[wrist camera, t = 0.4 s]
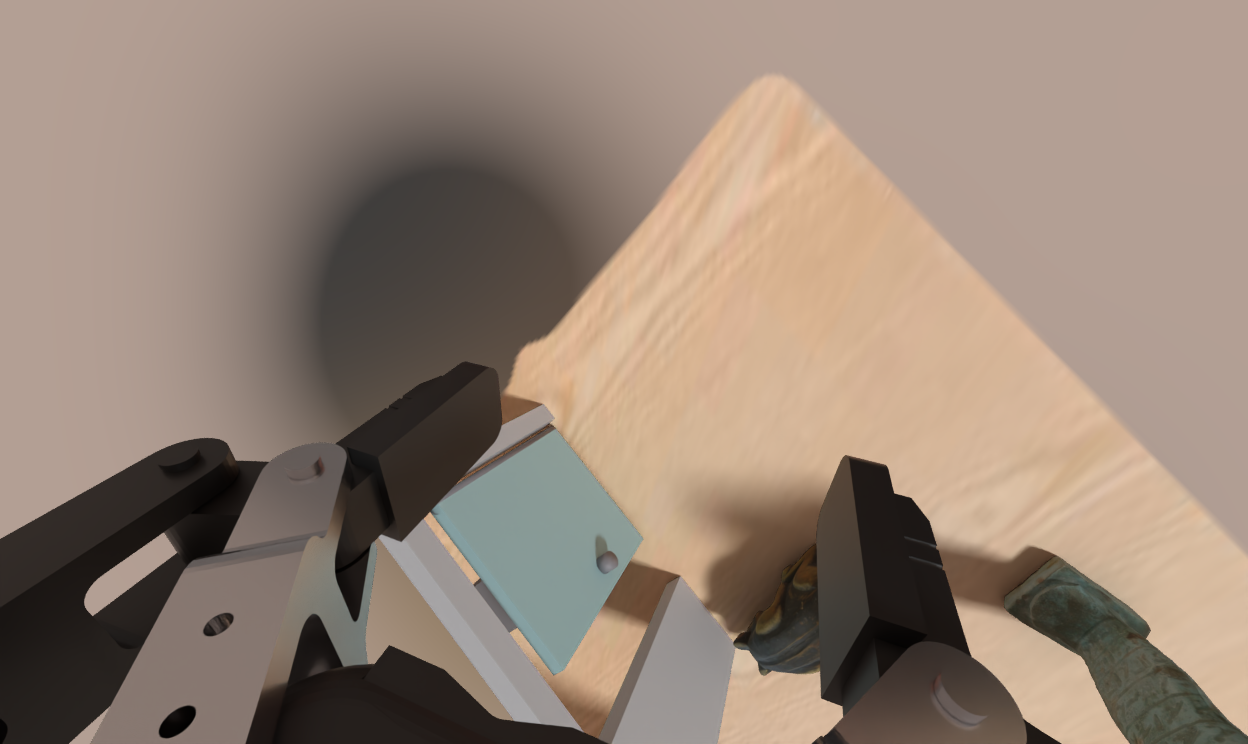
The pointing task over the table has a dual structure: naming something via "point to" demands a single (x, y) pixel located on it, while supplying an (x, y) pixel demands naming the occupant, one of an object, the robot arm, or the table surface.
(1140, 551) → the table surface
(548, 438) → the door
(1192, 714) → the figurine
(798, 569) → the sculpture
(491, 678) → the wall frame
